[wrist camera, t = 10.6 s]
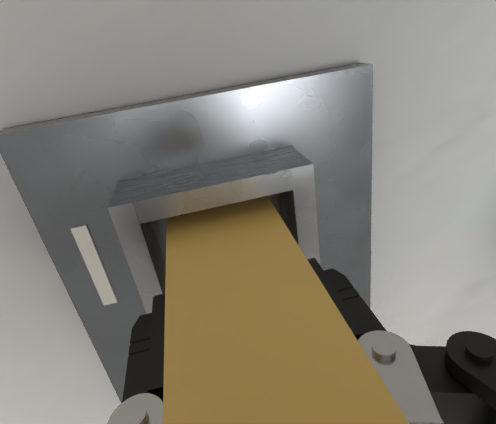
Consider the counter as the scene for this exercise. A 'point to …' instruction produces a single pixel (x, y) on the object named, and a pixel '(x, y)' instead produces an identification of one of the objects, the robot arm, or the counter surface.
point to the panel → (195, 185)
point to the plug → (258, 329)
